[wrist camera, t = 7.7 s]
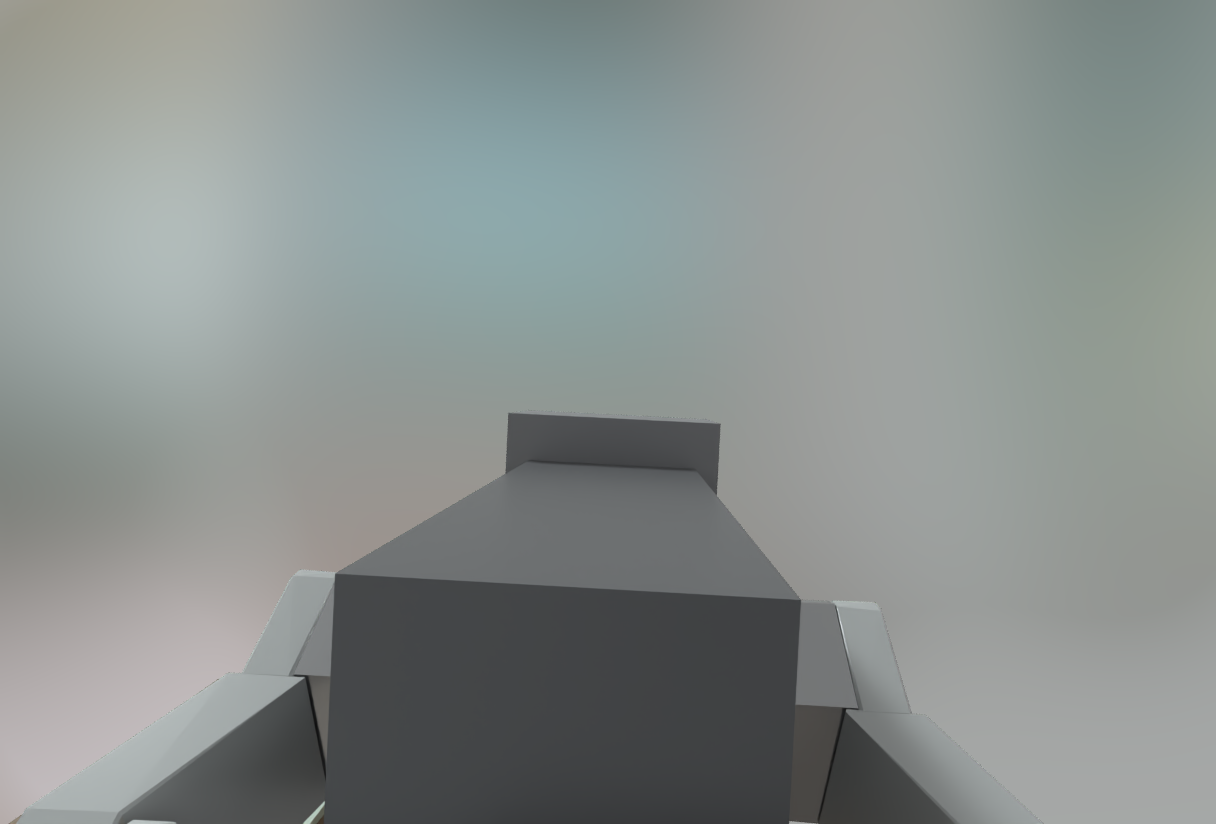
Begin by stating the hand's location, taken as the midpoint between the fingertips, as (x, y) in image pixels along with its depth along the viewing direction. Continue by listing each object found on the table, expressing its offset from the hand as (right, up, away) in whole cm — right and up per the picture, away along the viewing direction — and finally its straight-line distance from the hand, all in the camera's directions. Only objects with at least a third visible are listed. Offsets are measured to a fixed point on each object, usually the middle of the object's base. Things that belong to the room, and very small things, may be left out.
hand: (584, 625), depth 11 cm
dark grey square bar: (0, -2, +5) cm, 6 cm away
